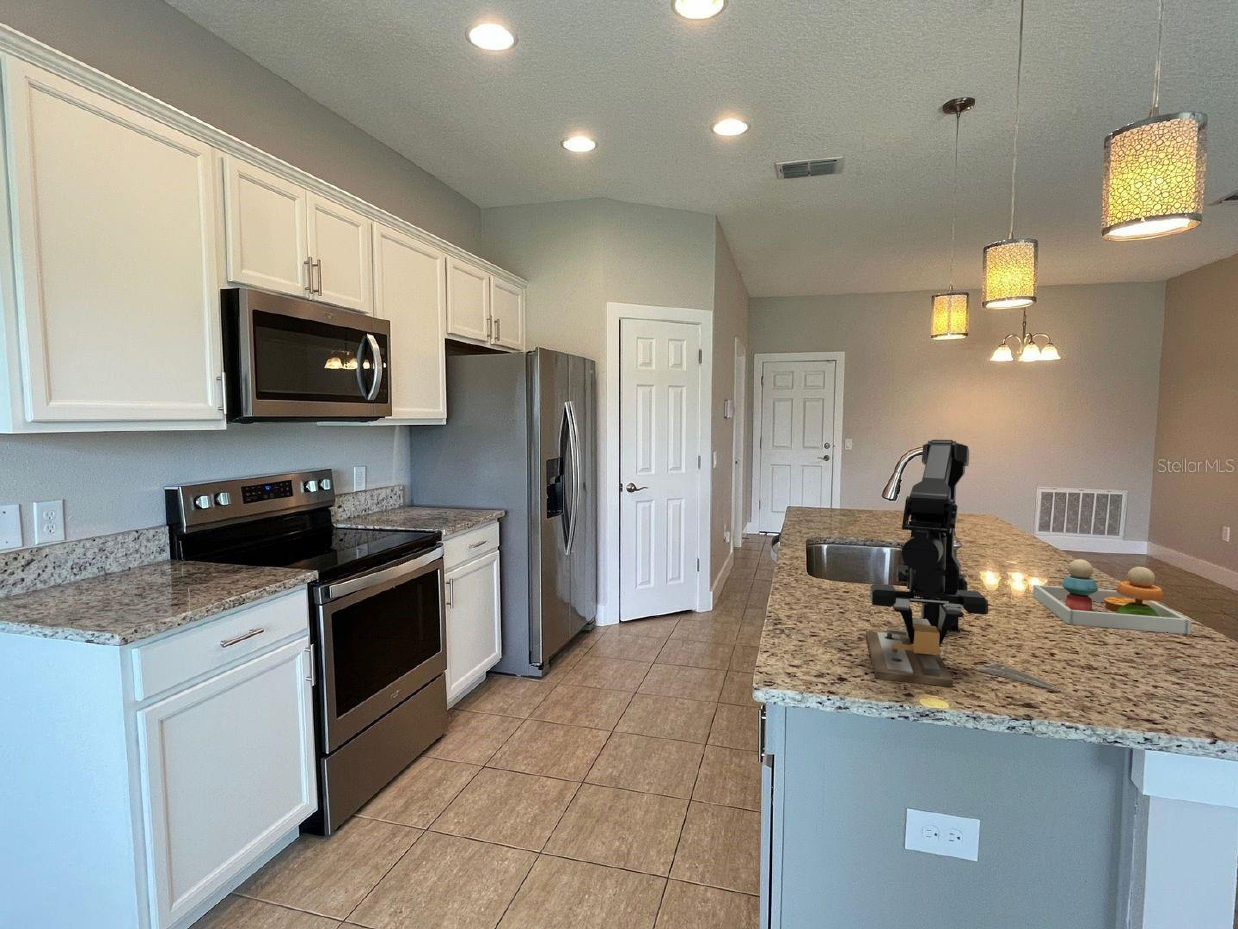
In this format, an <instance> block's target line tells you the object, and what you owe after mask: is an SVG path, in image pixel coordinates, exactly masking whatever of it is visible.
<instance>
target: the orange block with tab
mask: <svg viewBox="0 0 1238 929" xmlns="http://www.w3.org/2000/svg"><path fill="white" fill-rule="evenodd" d="M913 632H914V641H913V644H911V645H904V644H894V643H892V652H894V653H897V649H904V650H913V651H914V653H921V654H931V655H939V654H940V647H939V636H940V633H939V631H938V630H937V628H936V626H926V625H915V624H913Z"/></svg>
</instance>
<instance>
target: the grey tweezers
mask: <svg viewBox="0 0 1238 929" xmlns="http://www.w3.org/2000/svg"><path fill="white" fill-rule="evenodd" d="M983 665H984V667H986V668H982V667H981V666H978V667H977V668H976V672H980V673H985V674H989V675H991V676H992V675H993V676H996V675H997V677H1000V676H1001V678H1004V677H1005V679H1009V678H1010V679H1009V680H1013V679H1014V680H1013V681H1016V680H1017V682H1020V681H1023V682H1022V683H1024V682H1027V683H1026V684H1028V683H1030V684H1029V685H1032V684H1033V685H1032V686H1037V687H1040V688H1044V687H1046V688H1045V689H1047V688H1049V689H1048V690H1051V689H1053V690H1052V691H1055V690H1057V691H1056V692H1058V691H1061V690H1063V691H1061V692H1060V693H1062V692H1064V691H1066V692H1064V693H1063V694H1066V693H1067V692H1068V694H1070V693H1072V692H1070V691H1068V690H1066V689H1063V688H1060V687H1058V686H1056V685H1053V684H1052V683H1049V682H1046V681H1044V680H1042V679H1040V678H1038V677H1037V678H1036V677H1034V676H1033V675H1030V674H1028V673H1025V672H1023V671H1020V670H1018V669H1016V668H1013V667H1010V666H1007V665H1004V664H1000V663H994V662H991V663H984V664H983ZM1016 675H1017V676H1016ZM1019 676H1020V677H1019ZM1022 677H1023V678H1022ZM1025 678H1026V679H1025ZM1035 681H1036V682H1035ZM1052 687H1054V688H1052ZM1055 688H1057V689H1055ZM1058 689H1061V690H1058Z"/></svg>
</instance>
